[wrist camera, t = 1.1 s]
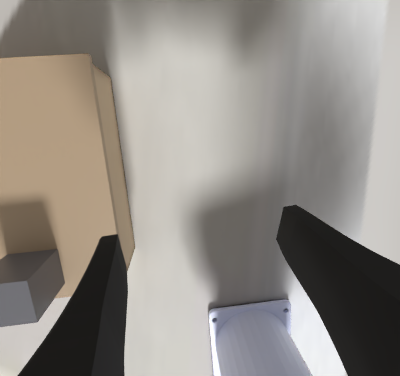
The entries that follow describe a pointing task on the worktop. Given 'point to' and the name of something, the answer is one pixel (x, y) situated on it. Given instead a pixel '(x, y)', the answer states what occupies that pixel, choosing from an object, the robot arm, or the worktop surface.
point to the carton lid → (49, 181)
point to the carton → (115, 162)
